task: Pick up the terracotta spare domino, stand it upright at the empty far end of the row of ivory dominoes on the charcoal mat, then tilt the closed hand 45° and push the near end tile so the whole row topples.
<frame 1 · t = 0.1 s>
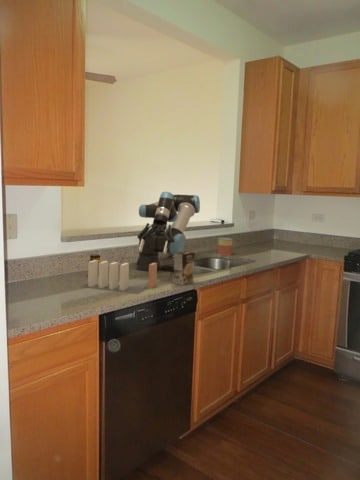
hand: (152, 252, 206), 15 cm above the worktop, tool tilted 35°, fingers open, 13 cm apart
domino 4: (123, 289, 187), point 1 cm above the worktop, touching mat
canned food: (224, 254, 300), on the worktop
domino 3: (113, 287, 189), point 1 cm above the worktop, touching mat
condiment: (93, 277, 212), on the worktop
mat: (113, 288, 189), on the worktop
spare domino: (152, 287, 194), on the worktop
domino 1: (92, 285, 192), point 1 cm above the worktop, touching mat
coffee box: (183, 283, 206), on the worktop
domino 2: (103, 286, 190), point 1 cm above the worktop, touching mat
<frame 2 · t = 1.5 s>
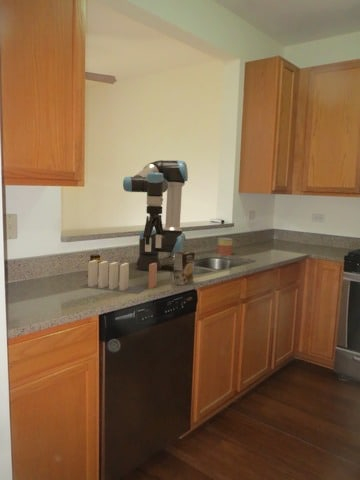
hand: (153, 249, 191), 19 cm above the worktop, tool pointing down, fingers open, 13 cm apart
nothing on the worktop moved.
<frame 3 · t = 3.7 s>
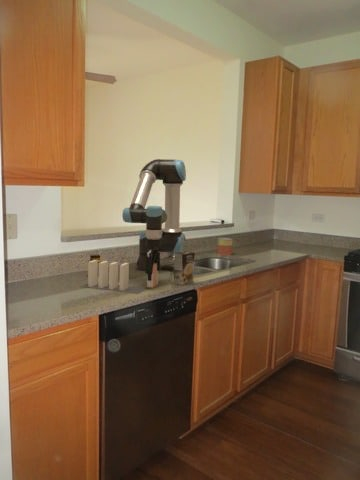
hand: (152, 285, 193), 1 cm above the worktop, tool pointing down, fingers closed on spare domino, 6 cm apart
spare domino: (152, 287, 194), on the worktop, touching gripper
everything else where it was.
when the fingers open (3 cm above the worktop, at t = 9.0 s): spare domino stays where it is, resting on mat.
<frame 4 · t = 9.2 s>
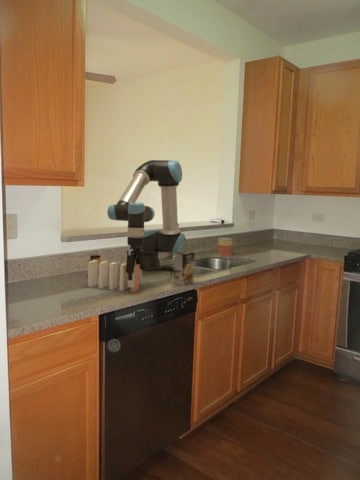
hand: (134, 284, 185), 3 cm above the worktop, tool pointing down, fingers open, 8 cm apart
spare domino: (134, 290, 186), point 1 cm above the worktop, touching mat
everything else where it was.
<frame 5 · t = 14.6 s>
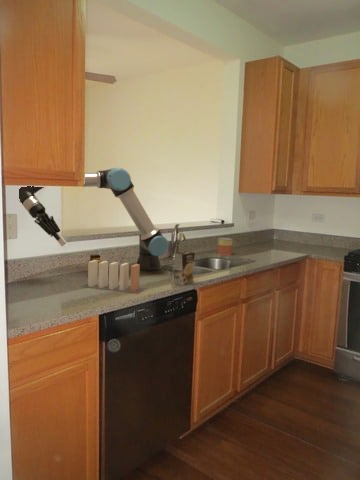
hand: (64, 244, 193), 20 cm above the worktop, tool tilted 45°, fingers closed
nothing on the worktop moved.
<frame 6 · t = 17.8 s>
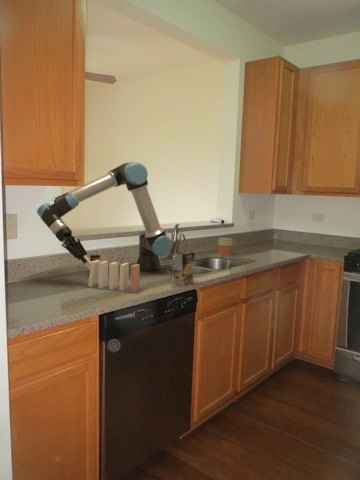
hand: (91, 267, 191), 9 cm above the worktop, tool tilted 45°, fingers closed
domino 1: (92, 285, 192), point 1 cm above the worktop, tilted 7°, touching gripper, mat
everything else where it was.
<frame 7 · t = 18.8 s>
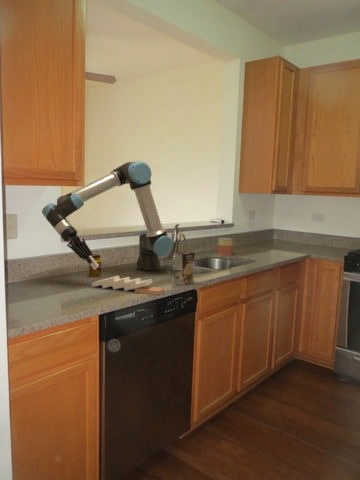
hand: (96, 267, 190), 10 cm above the worktop, tool tilted 45°, fingers closed
domino 4: (126, 287, 187), point 2 cm above the worktop, tilted 71°, touching domino 3, spare domino
domino 3: (115, 286, 188), point 1 cm above the worktop, tilted 71°, touching domino 2, domino 4, mat
spare domino: (137, 288, 185), point 2 cm above the worktop, tilted 90°, touching domino 4, mat
domino 1: (95, 283, 192), point 1 cm above the worktop, tilted 71°, touching domino 2
domino 2: (105, 285, 190), point 1 cm above the worktop, tilted 71°, touching domino 1, domino 3, mat
everything else where it was.
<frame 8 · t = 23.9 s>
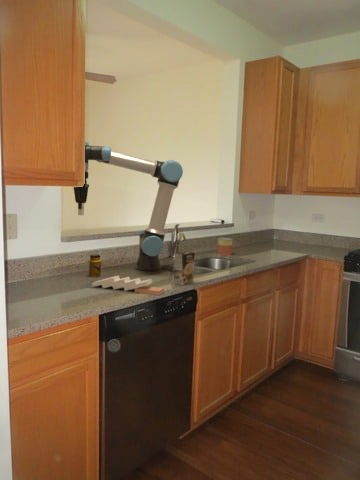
hand: (81, 215, 215), 32 cm above the worktop, tool pointing down, fingers closed
nothing on the worktop moved.
at the end: domino 1 tilted 71°; spare domino tilted 90°; spare domino inside the target area (0.2 cm from its centre), point 1.5 cm above the worktop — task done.
